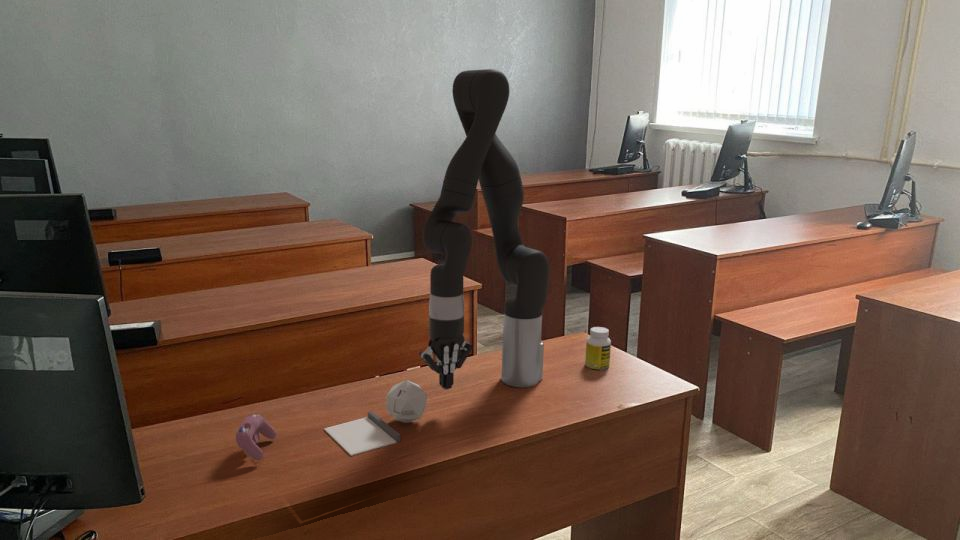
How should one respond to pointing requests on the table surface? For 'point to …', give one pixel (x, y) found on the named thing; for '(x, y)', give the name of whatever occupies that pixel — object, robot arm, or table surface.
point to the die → (406, 401)
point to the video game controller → (253, 435)
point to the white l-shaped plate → (363, 434)
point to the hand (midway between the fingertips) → (446, 387)
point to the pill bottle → (598, 349)
